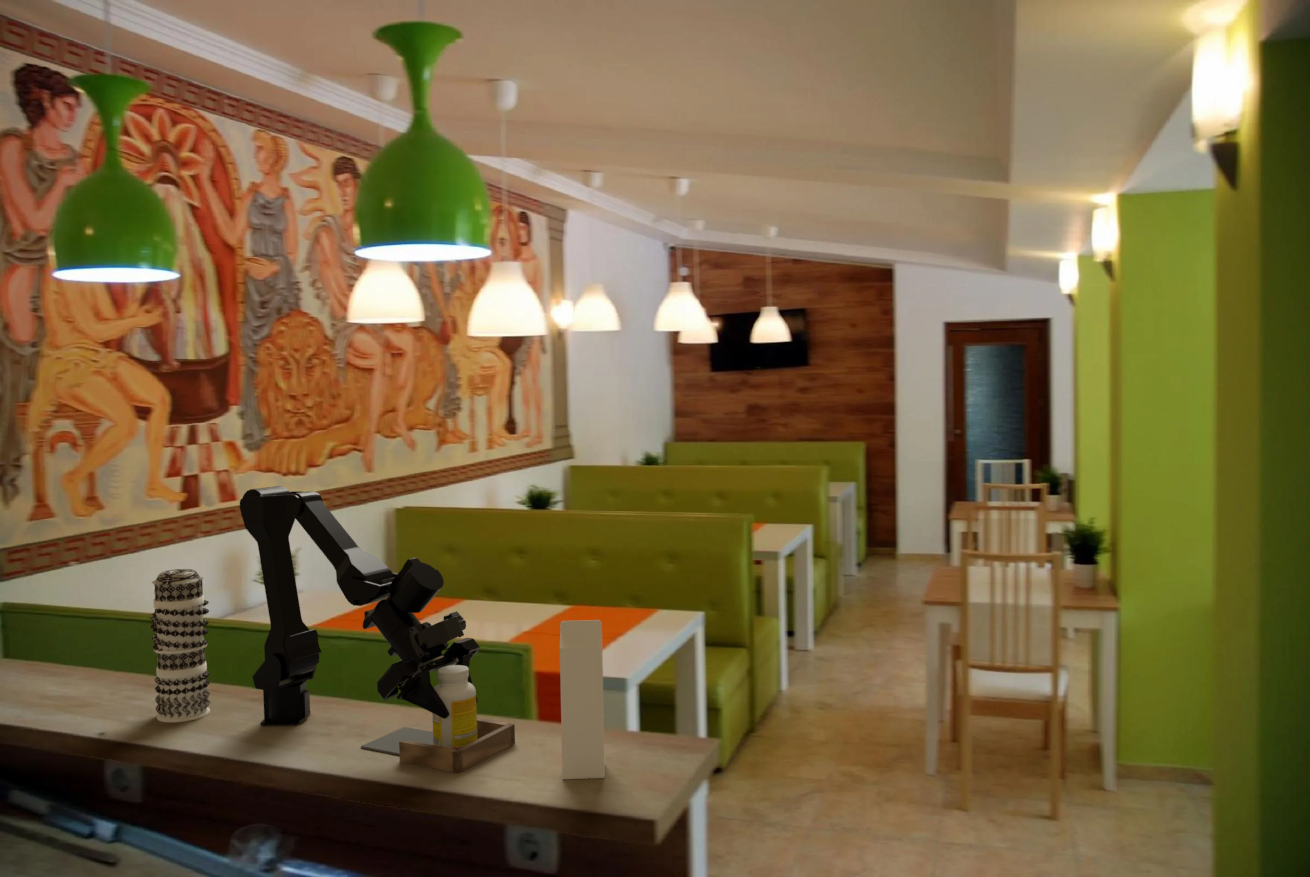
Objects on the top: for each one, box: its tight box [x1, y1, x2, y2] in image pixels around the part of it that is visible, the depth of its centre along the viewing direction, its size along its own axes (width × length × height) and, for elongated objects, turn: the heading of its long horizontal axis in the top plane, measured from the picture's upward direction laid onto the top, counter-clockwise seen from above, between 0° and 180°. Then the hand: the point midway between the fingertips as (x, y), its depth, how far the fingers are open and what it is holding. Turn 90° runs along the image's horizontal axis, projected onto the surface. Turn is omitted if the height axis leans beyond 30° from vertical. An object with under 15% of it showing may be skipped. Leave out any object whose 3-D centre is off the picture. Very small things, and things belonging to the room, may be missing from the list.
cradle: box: [399, 717, 516, 774], centre depth 159 cm, size 11×14×3 cm
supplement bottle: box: [431, 665, 478, 749], centre depth 159 cm, size 7×7×13 cm
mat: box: [360, 726, 433, 756], centre depth 164 cm, size 10×10×1 cm
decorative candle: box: [149, 568, 211, 723], centre depth 180 cm, size 9×9×25 cm
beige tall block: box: [559, 619, 606, 780], centre depth 150 cm, size 6×6×22 cm
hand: (461, 710), depth 159 cm, fingers closed on supplement bottle, 6 cm apart
